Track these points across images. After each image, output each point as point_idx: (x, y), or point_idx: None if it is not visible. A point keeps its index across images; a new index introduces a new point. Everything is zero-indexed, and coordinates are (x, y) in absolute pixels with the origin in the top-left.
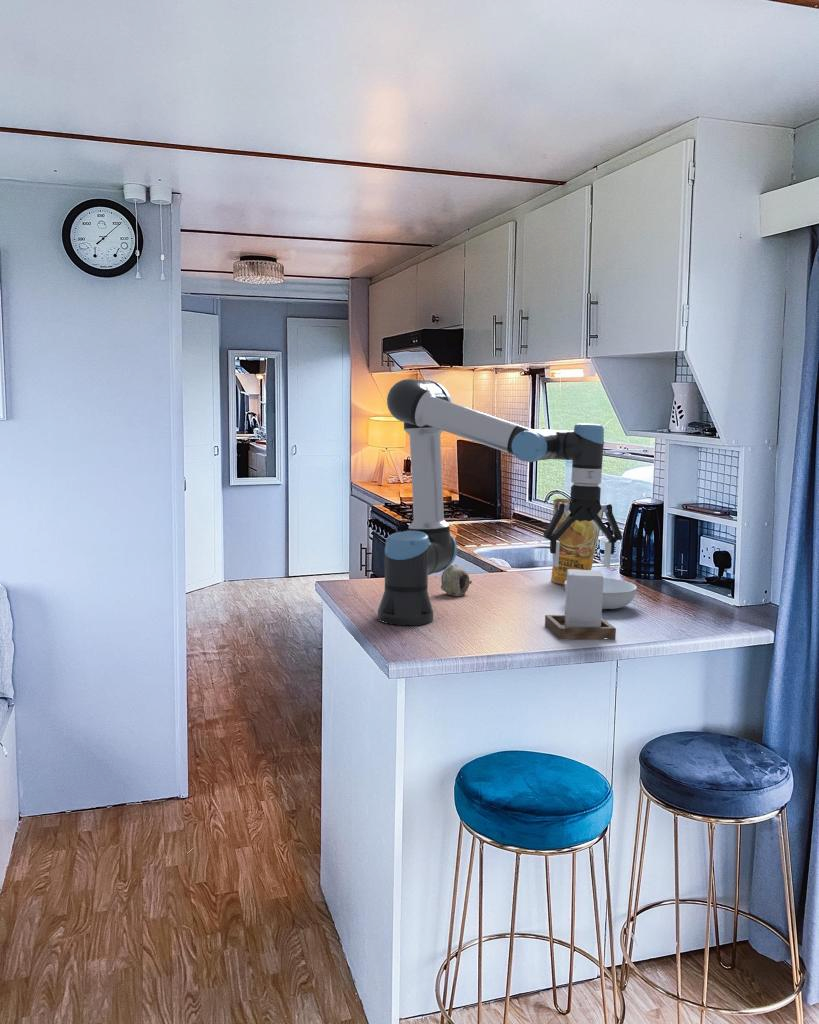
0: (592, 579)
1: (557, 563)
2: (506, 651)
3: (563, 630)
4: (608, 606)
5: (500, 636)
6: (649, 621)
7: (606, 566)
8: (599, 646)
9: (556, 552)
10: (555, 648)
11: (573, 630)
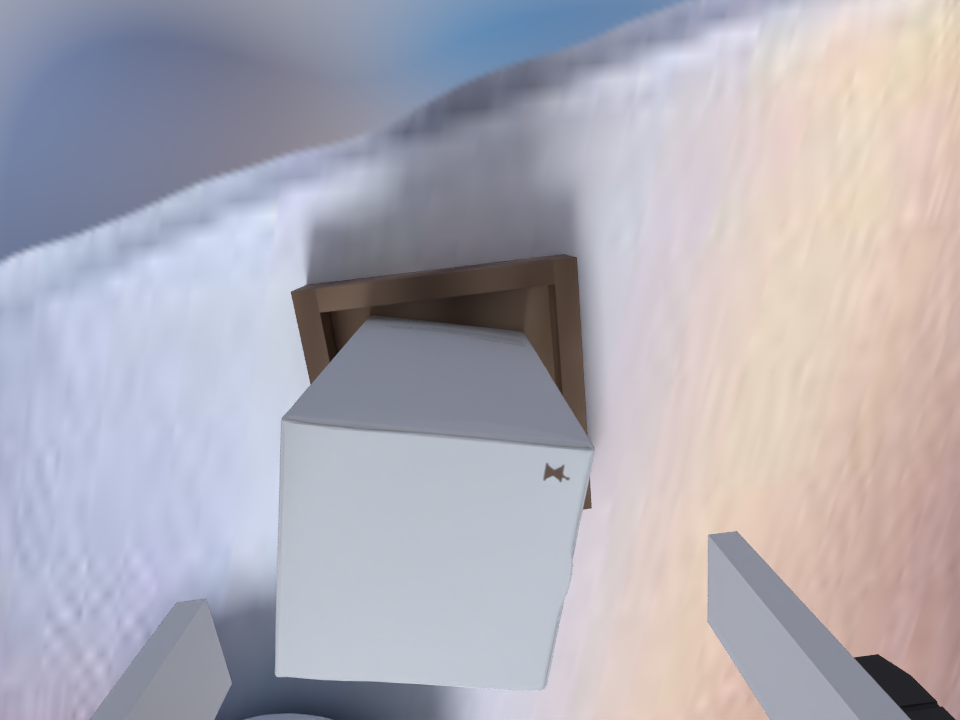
0: (387, 413)
1: (739, 555)
2: (856, 23)
3: (559, 258)
4: (267, 715)
5: (812, 286)
6: (112, 592)
7: (206, 618)
8: (402, 148)
9: (846, 650)
10: (617, 95)
11: (509, 264)
